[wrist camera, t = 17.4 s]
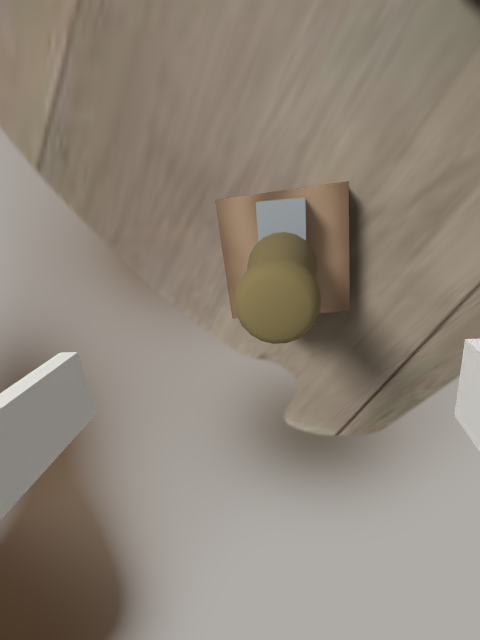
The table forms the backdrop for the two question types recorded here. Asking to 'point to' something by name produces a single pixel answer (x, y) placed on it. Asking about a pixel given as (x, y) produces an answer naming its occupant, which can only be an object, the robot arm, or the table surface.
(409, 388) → the table surface
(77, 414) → the robot arm
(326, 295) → the wooden flat board
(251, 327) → the olive ball-ended rod
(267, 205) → the slate-grey block
